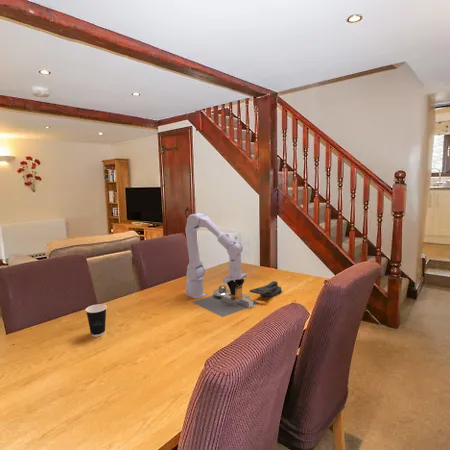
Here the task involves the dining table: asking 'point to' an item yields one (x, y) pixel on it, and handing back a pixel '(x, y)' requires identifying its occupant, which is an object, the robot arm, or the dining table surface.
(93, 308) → the dixie cup
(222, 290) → the scaffold node
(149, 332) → the dining table surface
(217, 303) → the site mat
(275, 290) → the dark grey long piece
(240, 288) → the orange grey two-tone block
